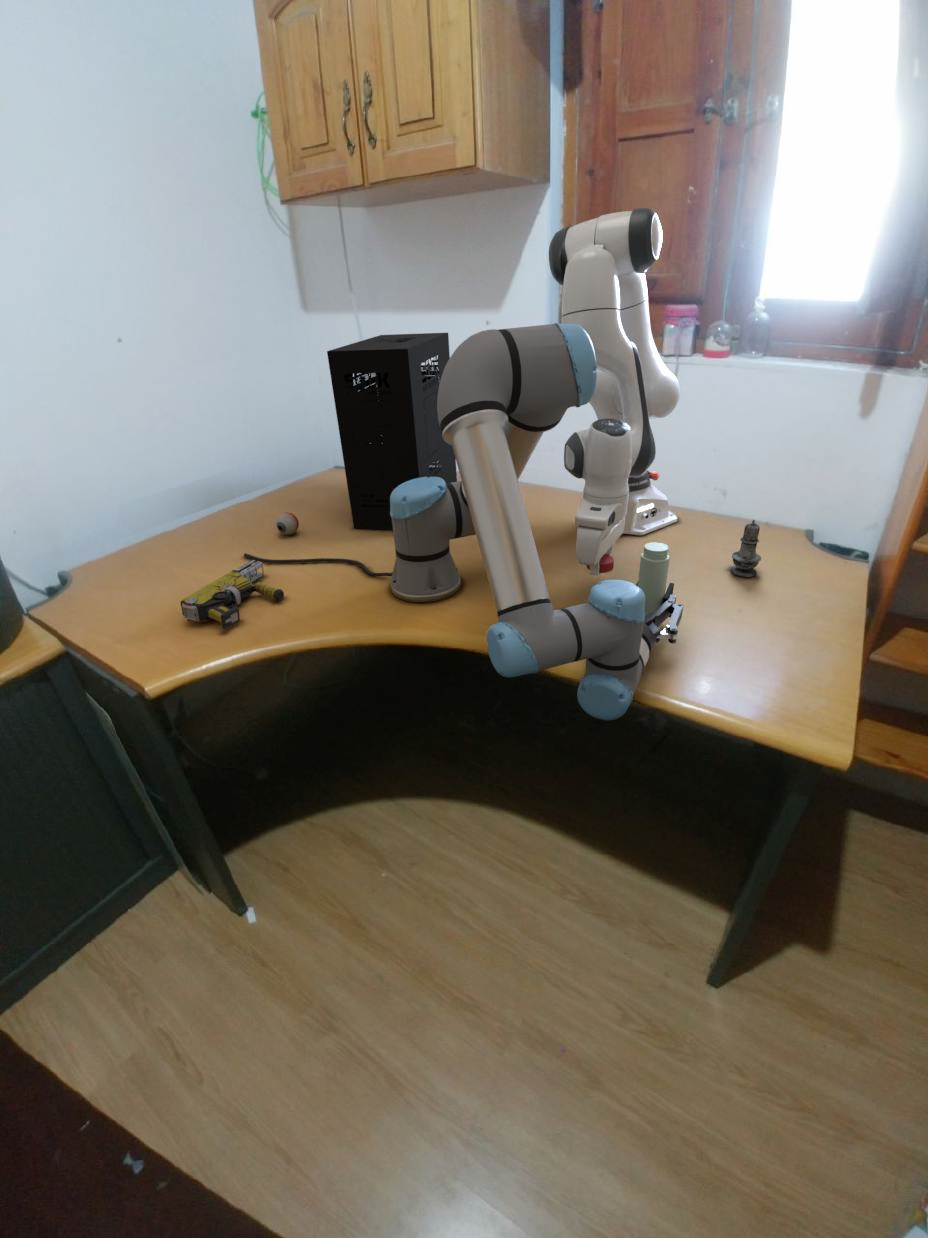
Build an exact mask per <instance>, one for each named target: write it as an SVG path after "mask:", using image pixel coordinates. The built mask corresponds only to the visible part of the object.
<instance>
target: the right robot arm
mask: <svg viewBox="0 0 928 1238" xmlns="http://www.w3.org/2000/svg"><path fill="white" fill-rule="evenodd" d="M662 244H663V229H662V225H661V222H660V219H659V215H658V214H657V213H656V212H655V211H654V210H653V209H652V208H650V207H649V208H648V207H636V208H633V209H632V210H624V211H616V212H610V213H605V214H602V215H601V214H600V216H599V217H595V218H591V219H588V220H584V221H582V222H580V223H577V224H575V225H568V226H565V227H563V228H562V229H560V230H558V231H556V232H555V233H554V235H553V237H552V238H551V240H550V243H549V247H548V264H549V270H550V273H551V275H552V277H553V280H555V281H556V282H557V284H559V285H560V286H562V292H561V293H562V294H561V324H576V325H579V326H581V327H582V328H583V329H584V330H585V331H586V332H587V334H588V335H589V337H590V339H591V341H592V344H593V347H594V351H595V356H596V363H597V382H596V388H595V392H594V395H593V397H592V399H591V400H590V401H589V402H588V404H590V406H591V407H592V409H593V411H594V413H595V415H596V418H597V420H595V421H593V422H592V423H590V426H589V428H586V429H583V430H578V431H575V432H573V433H571V435H570V436H569V437H568V439H567V440H566V442H565V443H564V449H563V451H564V452H563V466H564V468H565V470H566V471H567V472H568V473H569V474H570V475H572V476H573V477H574V478H576V479H579V480H580V479H582V480H584V486H583V490H582V499H581V503H580V506H579V508H578V510H577V512H576V514H575V518H574V524H575V525H576V526H578V527H577V530H576V543H575V544H576V546H575V548H576V549H575V550H576V560H577V563H578V564H580V565H584V566H586V565H589V566H590V570H589V575H590V576H594V577H597V576H599V575H600V574H601V573H600V569H601V566H599V561H600V559H601V558H602V557H603V555H604V554H606V555H610V556H611V557H612V552H613V549H614V546H615V543H616V542H617V540H619V538H620V537H621V536H622V535H625V534H626V535H632V536H633V535H634V536H645V535H646V534H650V533H652V532H654V531H657V530H660V529H662V528H665V527H668V526H670V525H672V524H675V523H677V522H678V516H677V515H676V514H675V513H674V512H672V511H670V503H669V502H670V501H669V498H668V497H667V496H666V495H665V494H664V493H663V492H661V491H660V490H659V489H658V488H656V487H655V486H654V485H652V483H651V480H653V481H658V479H659V478H660V473H659V472H657V471H654V470H651V471H649V470H648V469H649V468H650V467H651V465H652V464H653V463H654V461H655V460H656V459H655V458H656V452H657V451H656V449H657V448H656V441H655V436H654V433H653V430H652V427H651V423H650V420H651V419H663V418H665V417H667V416H669V415H670V414H671V413H673V411H674V410H675V409H676V407H677V405H678V403H679V400H680V397H681V385H680V381H679V379H678V377H677V376H676V375H675V374H673V373H672V372H671V371H670V369H668V367H667V366H666V364H665V363H664V361H663V359H662V357H661V355H660V353H659V351H658V349H657V346H656V344H655V340H654V337H653V332H652V326H651V317H650V316H651V315H650V308H649V307H650V306H649V294H648V284H647V277H646V273H647V271H648V269H650V268H652V267H653V266H654V264H655V263H656V262H657V260H658V259H659V258H660V254H661V253H660V252H661V248H662Z"/></svg>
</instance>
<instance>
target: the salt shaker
mask: <svg viewBox="0 0 928 1238" xmlns="http://www.w3.org/2000/svg"><path fill="white" fill-rule="evenodd" d="M760 530H761V527H760V525H759V524H757V523H756V519H752V520H751V522H749V523H746V525H744V529H743V534H742V537H741V538H740V541H741V543H740V548H739V550H737V551H734V552H732V553H731V557H732V563H733V565H734V566H732V567H731V568H730V572H731V573H732V574H734V575H735V576H738V577H743V578H750V577H754V576H756V575H757V574H758V571H757V569H755V568H756V567H758V565H759V563H760V561H761V560H762V555H760V554H758V553H757V547H758V543H760V540H759V535H760Z"/></svg>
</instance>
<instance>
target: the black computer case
mask: <svg viewBox="0 0 928 1238" xmlns="http://www.w3.org/2000/svg"><path fill="white" fill-rule="evenodd" d="M326 354H327V360H328V369H329V373H330V380H331V387H332V393H333V400H334V406H335V415H336V420H337V426H338V427H337V428H338V433H339V439H340V440H339V441H340V448H341V454H342V460H343V466H344V472H345V478H346V486H347V493H348V500H349V506H350V511H351V520H352V525H353V529H360V530H361V529H362V530H363V529H364V530H366V529H367V530H389V531H393V526H392V518H391V516H390V496H391V493H392V491H393V490H394V489H395V488H396V487H397V486H399V485H400V484H402V483H404V482H407V481H409V480H412V479H416V478H421V477H427V478H428V477H439V478H442V479H443V480H444V481H445V483H446V484H447V483H452V482H458V478H457V477H458V475H457V462H456V458H455V454H454V450H453V447H452V445H450V444H448V443H446V442H445V441H444V439H443V437H442V433H441V429H440V425H439V421H438V412H437V397H438V390H439V385H440V381H441V377H442V374H443V371H444V369H445V366H446V364H447V362H448V360H449V359H450V357H451V354H450V341H449V332H427V333H400V334H399V333H397V334H395V333H394V334H379V335H377V336H373V337H370V338H367V339H363V340H359V341H356V342H353V343H350V344H347V345H342V346H340V347H336V348H333V349H330V350H327V351H326ZM429 361H430V362H429ZM436 363H437V364H436Z"/></svg>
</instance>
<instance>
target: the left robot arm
mask: <svg viewBox="0 0 928 1238" xmlns="http://www.w3.org/2000/svg"><path fill="white" fill-rule="evenodd" d="M596 382H597V363H596V356H595V351H594V347H593V344H592V341H591V339H590V337H589V335H588V334H587V332H586V331H585V330H584V329H583V328H582V327H581V326H579V325H576V324H562V323H560V322H554V323H549V324H539V325H529V326H520V327H519V326H518V327H510V328H501V329H500V328H499V329H496V328H495V329H494V328H491V329H485V330H482V331H479V332H476V333H474V334H472V335H470V336H468V337H467V338H466V339H464V340H463V341H462V342H461V343H460V344H459V345H458V346H457V347H456V349H455V350H454V351H453V352H452V354H451V355H450V359H449V360H448V362H447V364H446V366H445V369H444V371H443V374H442V377H441V381H440V385H439V390H438V397H437V412H438V421H439V425H440V429H441V433H442V437H443V439H444V441H445V442H446V443H448V444H450V445H452V447H453V450H454V454H455V458H456V466H457V469H458V472H459V477H460V481H459V480H457V482H452V483H447V484H446V483H445V481H444V480H443V479H442V478H439V477H428V478H427V477H421V478H416V479H412V480H409V481H407V482H404V483H402V484H400V485H399V486H397V487H396V488H395V489H394V490H393V491H392V493H391V496H390V516H391V518H392V526H393V530H392V535H393V543H394V551H395V560H394V561H395V562H394V565H393V570H392V572H375V571H370V569H369V568H367V566H366V564H364V563H362V562H360V561H358V560H354V559H350V558H334V557H333V558H332V557H331V558H329V557H325V558H324V557H319V558H299V559H297V558H296V559H294V558H293V559H291V558H290V559H268V558H262V557H259V556H258V557H257V556H256V555H255V556H254V555H252V554H249V553H246V552H245V553H244V554H243V556H244V557H246V558H247V559H251V560H255V561H256V562H257V561H260V562H262V563H270V564H293V563H294V564H296V563H297V564H298V563H300V564H301V563H321V562H325V563H329V562H330V563H349V564H353V565H356V566H359V567H361V568H362V570H363V571H364V573H367V575H370V576H372V577H391V578H390V586H391V593H392V594H393V595H394V596H395V597H396V598H398V599H399V600H402V601H405V602H411V603H432V602H437V601H438V602H439V601H441V600H444V599H447V598H449V597H451V596H453V595H454V594H456V593H457V592H458V591H459V589H460V588H461V576H460V572H459V569H458V568H457V565H456V563H455V561H454V559H453V556H452V554H451V548H450V541H451V540H455V539H460V538H461V539H462V538H467V537H472V536H475V537H476V541H477V544H478V548H479V551H480V556H481V558H482V562H483V566H484V570H485V574H486V578H487V581H488V585H489V588H490V592H491V593H490V594H491V596H492V600H493V603H494V607H495V611H496V615H497V620H498V621H497V622H496V623H494V624H491V625H490V626H489V627H488V629H487V631H486V644H487V652H488V656H489V659H490V662H491V664H492V666H493V668H494V669H495V671H496V672H497V673H498V674H499V675H500V676H502V677H505V678H508V679H511V678H514V677H521V676H524V675H530V674H531V675H534V674H537V673H538V672H541V671H545V670H548V669H552V668H555V667H556V668H557V667H559V666H563V665H568V664H570V663H576V662H579V661H580V662H581V661H584V660H585V671H584V675H583V677H581V679H580V681H579V685H578V688H577V692H576V694H577V695H576V697H577V698H576V699H577V701H578V703H579V706H580V707H581V709H582V710H583V711H584V712H585V713H586V714H588V715H589V716H591V717H593V718H594V719H598V720H601V721H614V720H617V719H619V718H621V717H623V716H624V714H625V713H626V712H627V710H628V709H629V707H630V705H631V704H632V703H633V701H634V695H635V693H636V691H637V688H638V685H639V683H640V680H641V677H642V675H643V672H644V670H645V668H646V666H647V663H648V662H649V658H650V657H651V655H652V652H653V649H654V647H655V644H657V643H658V642H660V641H661V640H667V641H668V643H670V644H676V643H677V639H678V632H679V631H678V630H679V629H678V628H679V625H680V623H681V621H682V618H683V610H684V604H683V603H679V602H678V603H676V601H677V595H676V594H674V586H675V583H673V582H669V584H668V586H667V587H666V590H665V595H664V597H663V604H662V605H661V606H660V607H659V608H658V609H657V610H656V611H654V612H653V613H652V614H651V613H650V614H649V615H647V616H646V617H645V595H644V592H643V591H642V589H640V588H639V587H638V581H637V582H636V583H633V582H631V581H627V580H623V579H605V580H601V581H598V582H597V584H594V585H593V586H592V587H591V588H590V591H589V595H588V598H587V601H588V602H585V603H581V604H576V605H571V606H568V607H562V608H557V609H554V608H553V607H554V606H553V604H552V601H551V598H550V593H549V590H548V587H547V583H546V579H545V576H544V571H543V567H542V565H541V564H542V563H541V561H540V557H539V554H538V550H537V546H536V543H535V538H534V534H533V532H532V527H531V524H530V521H529V516H528V513H527V509H526V506H525V502H524V499H523V498H524V497H523V494H522V491H521V487H520V483H519V479H520V478H521V475H522V474H523V471H524V470H525V468H526V466H527V464H528V462H529V461H530V458H531V457H532V455H533V453H534V451H535V449H536V447H537V446H538V443H539V442H540V440H541V438H542V437H543V435H544V433H546V432H548V431H550V430H552V429H554V428H555V427H556V426H558V425H559V424H560V422H561V421H562V419H563V417H564V415H566V412H567V411H568V409H569V408H573V407H575V408H580V407H581V406H585V405H587V404H589V401H590V400H591V399H592V397H593V395H594V392H595V388H596ZM668 618H669V620H668V624H667V625H665V627H664V628H663V630H661V628H660V629H659V628H658V626H659V625H661V626H662V624H663V623H664V622H665V621H666V620H667V619H668Z"/></svg>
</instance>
